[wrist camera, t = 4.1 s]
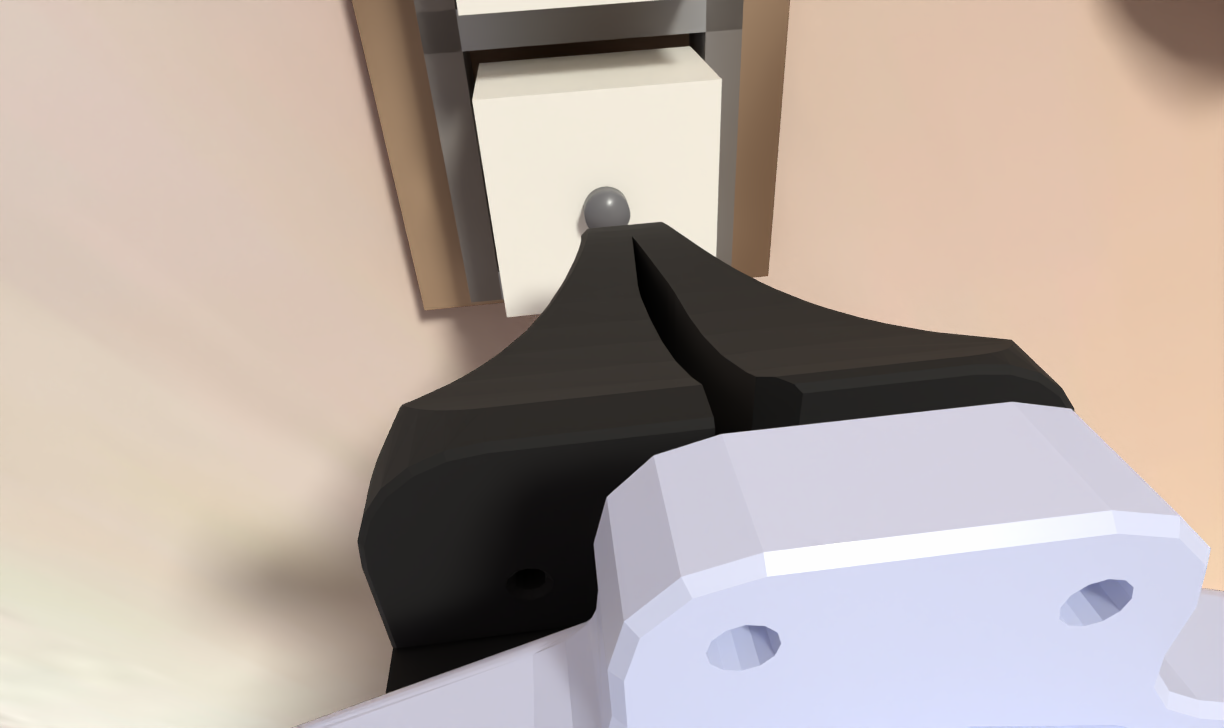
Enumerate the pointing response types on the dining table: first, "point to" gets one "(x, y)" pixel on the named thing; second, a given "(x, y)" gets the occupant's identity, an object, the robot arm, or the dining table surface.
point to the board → (455, 45)
